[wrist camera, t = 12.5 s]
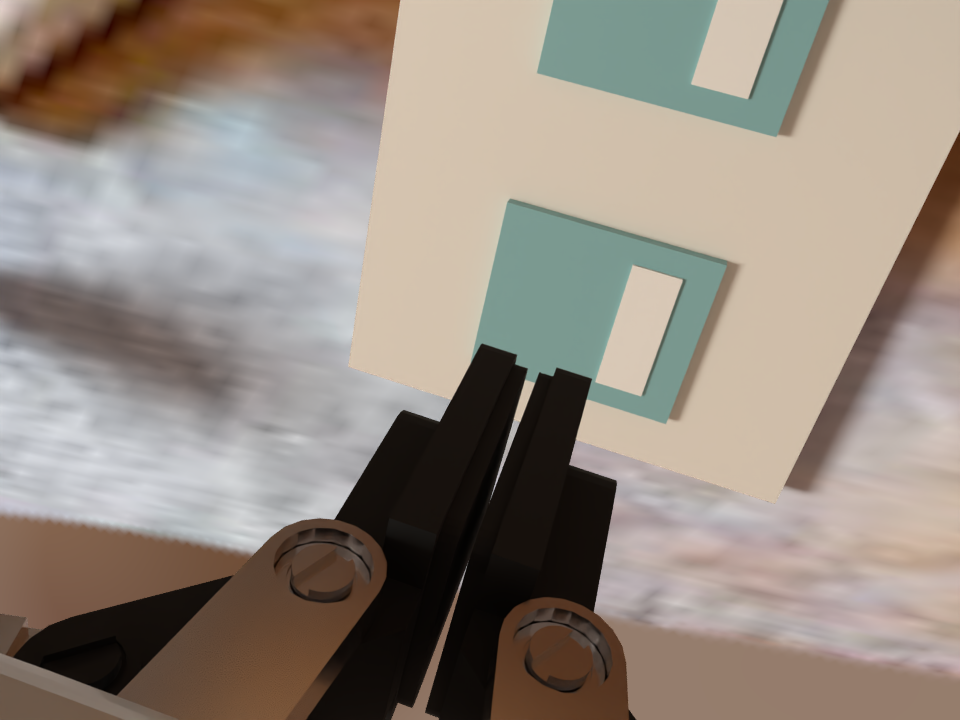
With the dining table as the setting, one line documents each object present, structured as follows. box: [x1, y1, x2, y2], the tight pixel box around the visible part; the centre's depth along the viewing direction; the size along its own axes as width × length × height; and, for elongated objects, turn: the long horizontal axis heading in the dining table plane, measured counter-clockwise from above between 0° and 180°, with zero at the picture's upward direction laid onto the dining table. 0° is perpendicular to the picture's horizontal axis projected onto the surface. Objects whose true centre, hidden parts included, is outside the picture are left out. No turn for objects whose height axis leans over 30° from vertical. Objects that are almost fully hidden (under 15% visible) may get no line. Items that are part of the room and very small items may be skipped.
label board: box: [348, 0, 960, 504], centre depth 25 cm, size 24×16×2 cm, turn 168°
